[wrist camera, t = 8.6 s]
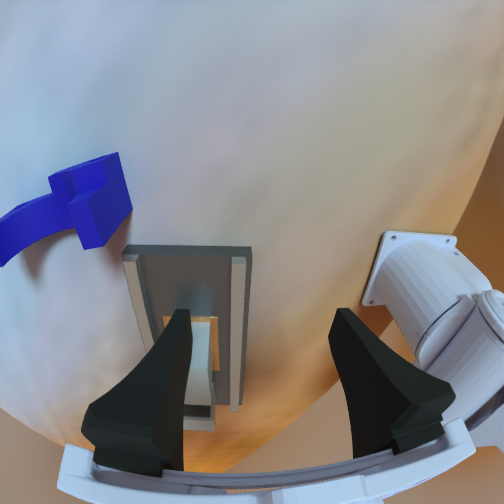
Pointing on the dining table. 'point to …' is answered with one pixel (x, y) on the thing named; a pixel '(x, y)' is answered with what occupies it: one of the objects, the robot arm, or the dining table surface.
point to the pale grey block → (200, 366)
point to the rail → (196, 301)
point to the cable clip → (71, 207)
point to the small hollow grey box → (200, 415)
